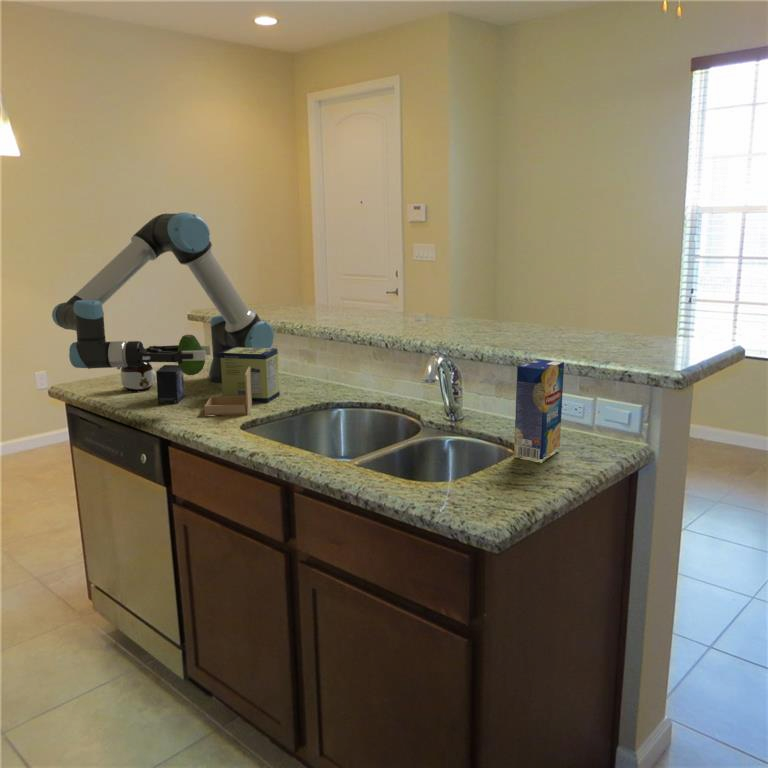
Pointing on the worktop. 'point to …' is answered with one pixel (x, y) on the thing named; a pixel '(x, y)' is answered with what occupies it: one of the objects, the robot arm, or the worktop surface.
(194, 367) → the fruit
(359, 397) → the worktop surface
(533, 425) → the blue cracker box
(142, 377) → the spread jar
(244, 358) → the protein box
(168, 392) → the small box
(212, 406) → the mailer box
